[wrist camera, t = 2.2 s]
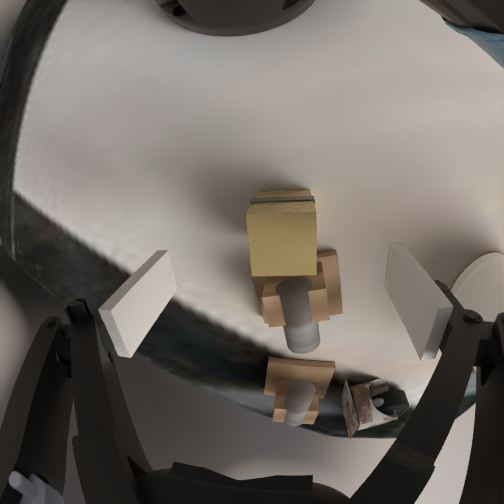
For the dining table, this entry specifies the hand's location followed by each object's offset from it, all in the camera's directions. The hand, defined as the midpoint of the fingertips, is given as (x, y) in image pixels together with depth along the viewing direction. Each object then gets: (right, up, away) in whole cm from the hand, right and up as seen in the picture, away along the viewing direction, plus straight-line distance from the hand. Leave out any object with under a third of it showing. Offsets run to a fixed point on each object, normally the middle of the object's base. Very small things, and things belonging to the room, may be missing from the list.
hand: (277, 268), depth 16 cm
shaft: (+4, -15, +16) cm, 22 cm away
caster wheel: (+16, -19, +17) cm, 30 cm away
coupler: (+1, +4, +8) cm, 10 cm away
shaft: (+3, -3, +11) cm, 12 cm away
